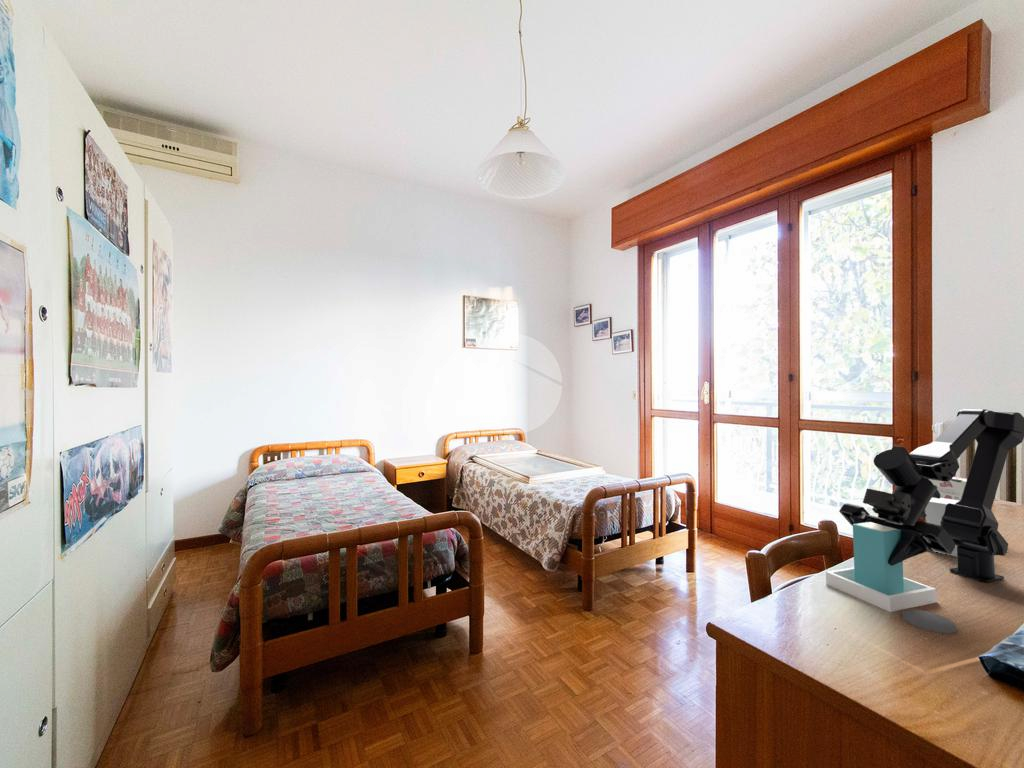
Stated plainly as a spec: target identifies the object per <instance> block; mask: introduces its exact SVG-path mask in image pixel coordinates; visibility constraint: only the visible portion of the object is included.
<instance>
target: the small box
mask: <svg viewBox="0 0 1024 768" xmlns="http://www.w3.org/2000/svg"><path fill="white" fill-rule="evenodd" d="M957 502H959V500H952V499H946V498H940V499H938V498H931V500H930V501H929V503H928V505H927V506H926V508H925V510H924V513H925V514H926V515H927V516H926V517H925V522H927V523H931V524H935V525H940V526H941V520H942V517H943V515H944V512H945V507H946V505H947V504H948V503H951V504H956V503H957ZM932 550H933V549H932ZM933 551H934V552H933V553H936V552H938V554H941V553H942V555H945V554H946V553H943V552H939V551H936V550H933ZM950 555H951V557H954V558H957V545H955V548H954V550H953V552H952V553H951V554H947V555H946V556H950Z"/></svg>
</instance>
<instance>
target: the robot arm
mask: <svg viewBox="0 0 1024 768" xmlns="http://www.w3.org/2000/svg"><path fill="white" fill-rule="evenodd" d="M974 441H976V443H977V445H976V449H975V451H974V452H975V453H974V455H973V458H972V463H971V465H970V468H969V472H968V474H967V478H966V479H967V481H966V484H965V488H964V491H963V494H962V497H961V500H960V501H959V502H957V503H956V504H951V503H948V504H947V505H946V507H945V512H944V515H943V517H942V520H941V526H940V525H935V524H931V523H927V522H926V521H923V520H926V516H927V515H926V512H925V508H926V506H927V505H928V503H929V501H930V500H931V498H938V499H940V493H939V491H938V490H937V486H936V485H934V484H933V483H932V482H931V481H930V480H929V479H931V480H938V481H946V482H947V481H949V480H951V479H952V478H953V477H956V474H957V471H958V470H959V469H960V464H959V461H958V459H959V458H960V456H961V455H962V454H963V453H964V452H965V451H966V450H967V448H969V446H971V444H972V443H973V442H974ZM1023 441H1024V415H1022V413H1020V412H1017V411H1016V412H1014V411H1013V412H1011V411H994V410H988V409H985V408H984V409H983V408H982V409H979V408H963V409H960V410H958V411H957V414H956V418H955V419H953V421H952V422H951V423H949V425H948V426H946V428H945V429H943V431H942V432H941V433H940V434H939V435H938V436H937V437H936V438H935V440H933V441H932V442H930V443H928V444H926V445H925V444H924V445H921V446H918V447H917V448H915V449H914V450H913V451H911V452H910V453H909V451H908V449H906V447H905V446H899V445H892V448H891V449H887V450H884V451H882V452H879V453H878V454H876V455H874V458H873V464H874V465H875V467H876V469H878V470H879V472H880V473H881V474H882V475H883V477H884V478H885V479H886V480H887V482H889V484H890V485H893V486H895V488H894V489H893V491H892V492H891V493H890V492H888V491H882V490H877V489H873V488H872V489H871V488H866V491H865V494H864V497H863V500H862V503H863V504H865V505H869V506H871V507H872V511H873V512H874V513H875V514H877V516H875V515H872V514H870V513H869V512H868V511H867V510H866V509H865V507H863V506H859V505H855V504H853V503H843V505H842V506H841V508H840V509H839V510H838V512H839V513H840V514H841V515H842V516H843V517H844V519H845V520H846V521H847V522H848V523H849V524H850V526H851V527H853V524H857V523H865V522H873V523H877V524H880V525H884V526H888V527H891V528H895V529H899V530H901V538H900V541H899V542H898V544H897V545H896V547H895V549H894V550H893V552H892V553H891V555H890V557H889V560H888V563H889V565H891V566H893V565H895V564H897V563H899V562H902V561H903V562H904V561H906V560H908V559H910V558H913V557H917V556H919V555H921V554H925V553H930V554H931V553H934V552H933V550H936V551H939V552H943V553H946V554H951V553H952V552H953V550H954V548H955V545H957V557H956V563H957V564H956V565H957V567H952V568H949V572H951V573H954V574H958V575H961V576H964V577H966V578H969V579H973V580H976V581H979V582H983V583H990V582H995V581H1000V580H1004V579H1005V576H1003V575H1000V574H997V573H996V570H995V569H996V568H995V566H996V565H995V556H1002V557H1003V556H1006V554H1007V553H1008V550H1009V543H1008V542H1007V540H1006V539H1005V537H1003V535H1002V534H1001V533H1000V532H999V522H998V520H997V518H996V516H995V515H994V512H993V511H992V509H993V505H994V502H995V497H996V495H997V491H998V487H999V484H1000V480H1001V477H1002V474H1003V470H1004V467H1005V464H1006V460H1007V458H1008V457H1007V456H1008V453H1009V451H1011V450H1013V449H1014V448H1016V447H1017V446H1019V445H1020V444H1021V443H1023ZM920 519H923V520H920ZM932 549H933V550H932Z"/></svg>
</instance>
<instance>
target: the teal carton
mask: <svg viewBox="0 0 1024 768" xmlns="http://www.w3.org/2000/svg"><path fill="white" fill-rule="evenodd" d="M900 538H901V530H899V529H895V528H891V527H888V526H884V525H880V524H877V523H873V522H865V523H857V524H853V526H852V540H853V541H852V542H853V543H852V545H853V567H854V573H855V582H856V583H859V584H861V585H864V586H866V587H869V588H871V589H873V590H876V591H878V592H881V593H883V594H886V595H894V594H899V593H904V581H903V577H904V561H902V562H899V563H897V564H895V565H893V566H891V565H889V563H888V560H889V557H890V555H891V553H892V552H893V550H894V549H895V547H896V545H897V544H898V542H899V541H900Z"/></svg>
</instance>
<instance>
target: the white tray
mask: <svg viewBox="0 0 1024 768" xmlns="http://www.w3.org/2000/svg"><path fill="white" fill-rule="evenodd" d="M903 581H904V593H899V594H894V595H886V594H883V593H881V592H878V591H876V590H873V589H871V588H869V587H866V586H864V585H861V584H859V583H856V582H855V573H854V566H852V567H846V568H840V569H833V570H828V571H825V584H826V585H828V586H830V587H832V588H835V589H836V590H839V591H842V592H843V593H846V594H848V595H851V596H853V597H855V598H857V599H859V600H862V601H864V602H867V603H869V604H871V605H873V606H875V607H878V608H880V609H883V610H884V611H886V612H890V613H892V612H893V613H894V612H897V611H904V610H908V609H911V608H916V607H922V606H925V605H930V604H935V603H938V596H937V588H935V587H933V586H929V585H926V584H924V583H921V582H918V581H916V580H912V579H910V578H907V577H905V576H903Z"/></svg>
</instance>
